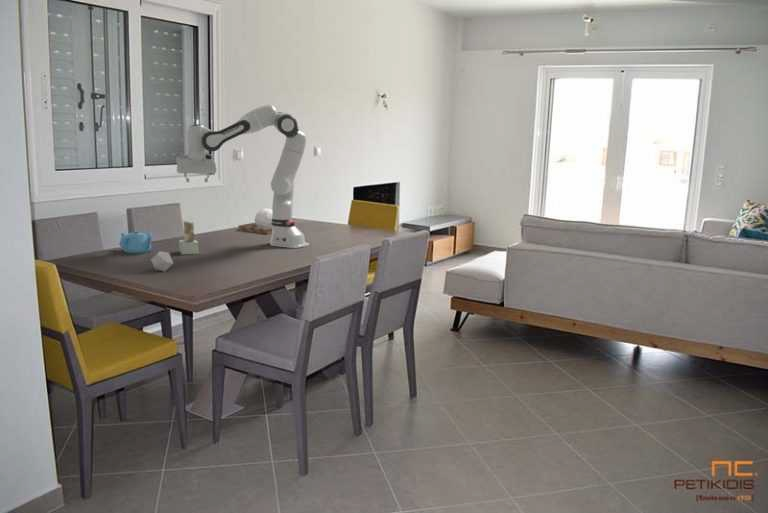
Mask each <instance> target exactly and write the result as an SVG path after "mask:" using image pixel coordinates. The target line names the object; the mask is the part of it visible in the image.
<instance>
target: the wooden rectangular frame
mask: <svg viewBox="0 0 768 513" xmlns="http://www.w3.org/2000/svg"><path fill="white" fill-rule="evenodd" d="M237 228H238V229H237V230H238V231H240V232H241V231H243V232H250V233H257V234H263V235H271V233H272V228H270V229H266V228H259V227H257V226H256V223H255V222H251V223H249V222H248V223H244V224H238V225H237Z"/></svg>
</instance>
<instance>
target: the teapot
mask: <svg viewBox="0 0 768 513" xmlns="http://www.w3.org/2000/svg"><path fill="white" fill-rule="evenodd" d="M120 235H121V236H120V240H119V241H120V242H119V246H120V247H121V249H122V251H123V252H125V254H132V253H135V254H136V253H137V254H145V252H146V253H148V252H150V251H151V249H152V244H151V243H152V242H151V241H152V237H153V232H148V233H147V235H146V233H144V232H140V231H139V230H137V229H136V230H135V229H134V230H133V232H130V233H128V234H127V233H126V232H121V233H120ZM135 254H134V255H135Z"/></svg>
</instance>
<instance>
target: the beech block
mask: <svg viewBox="0 0 768 513" xmlns="http://www.w3.org/2000/svg"><path fill="white" fill-rule="evenodd" d="M194 225H195V224H194V221H193V220H189V221H188V220H187V221H183V236H184V237H183V240H184V241H185V242H194V240H195V226H194Z"/></svg>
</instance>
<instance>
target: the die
mask: <svg viewBox="0 0 768 513" xmlns="http://www.w3.org/2000/svg"><path fill="white" fill-rule="evenodd" d="M150 261H151V263H152V265H153V268H154V270H155V271H160V272H166V271H167V270H168V269H169V268H170V267H171V266H173V265H174V261H173V259H172V257H171V254H170V252H165V251H158V252H157V253H156V254H155V255H154V256H152V257H151V258H150Z"/></svg>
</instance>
